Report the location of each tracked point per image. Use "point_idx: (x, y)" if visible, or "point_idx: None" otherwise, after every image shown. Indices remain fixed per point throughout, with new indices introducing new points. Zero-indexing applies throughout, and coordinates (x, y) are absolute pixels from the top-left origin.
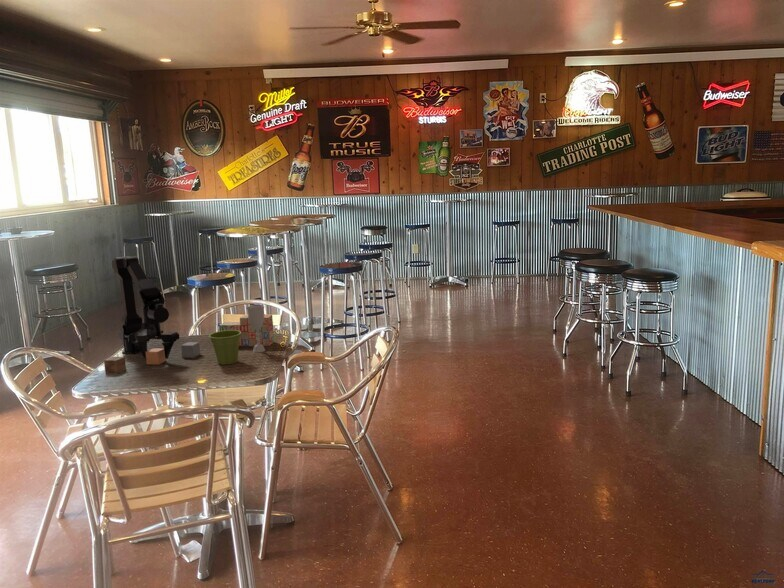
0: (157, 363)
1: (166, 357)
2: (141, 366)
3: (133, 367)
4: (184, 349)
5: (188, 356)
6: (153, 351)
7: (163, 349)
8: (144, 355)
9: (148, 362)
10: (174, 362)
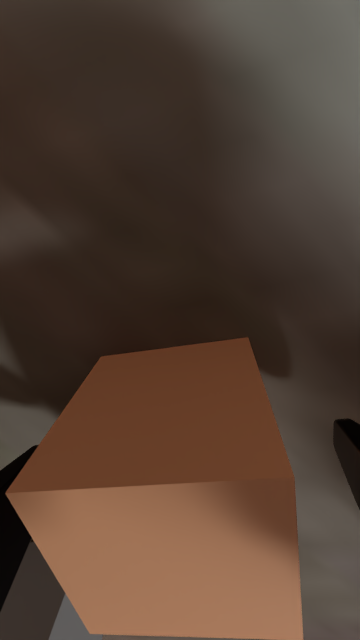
0: (108, 360)
1: (19, 457)
2: (248, 239)
3: (342, 160)
4: (20, 634)
5: (28, 551)
6: (120, 513)
7: (79, 607)
8: (357, 449)
9: (226, 350)
10: (11, 435)
